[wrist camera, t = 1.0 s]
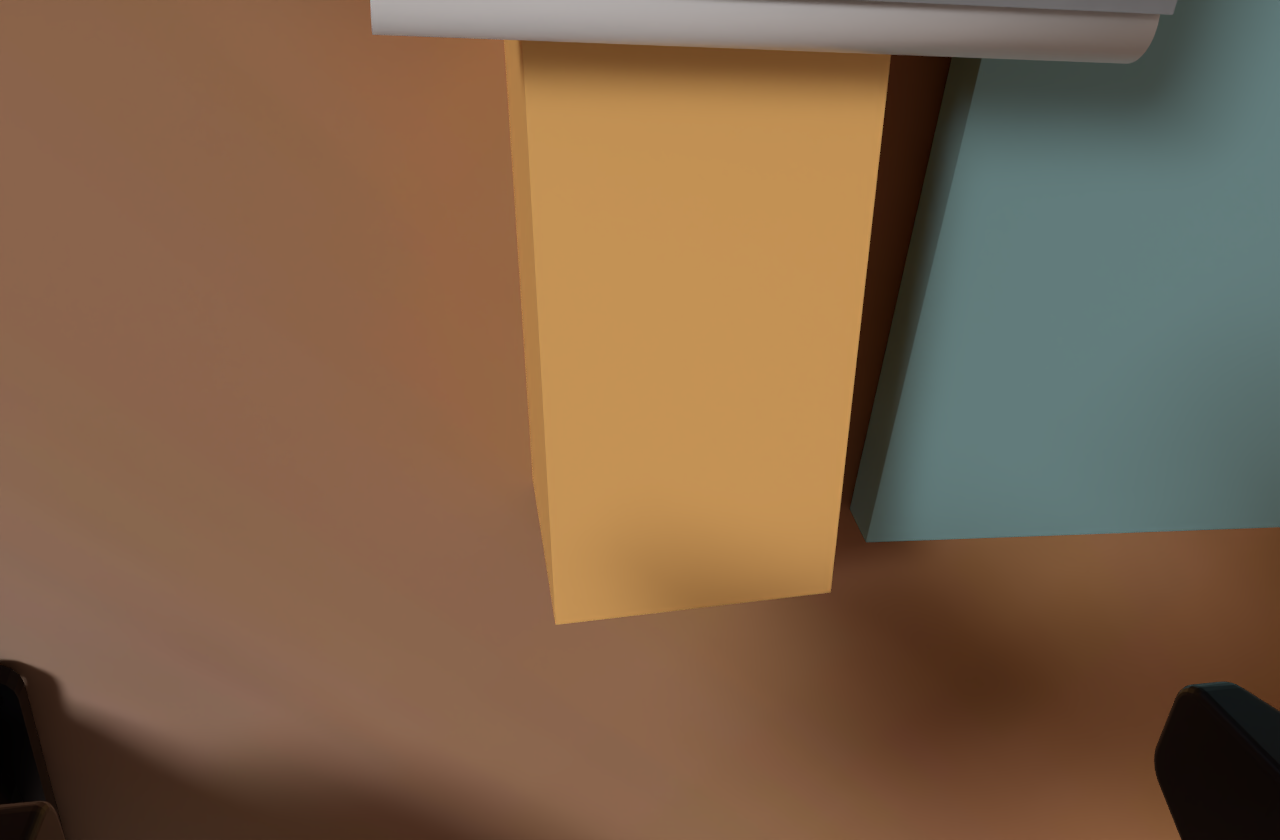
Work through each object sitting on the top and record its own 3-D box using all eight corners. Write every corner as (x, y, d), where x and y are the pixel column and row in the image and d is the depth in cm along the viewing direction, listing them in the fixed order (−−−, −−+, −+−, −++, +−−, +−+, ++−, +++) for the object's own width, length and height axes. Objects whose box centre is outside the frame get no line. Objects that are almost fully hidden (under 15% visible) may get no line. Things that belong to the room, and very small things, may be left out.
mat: (1268, 496, 25) (1297, 526, 24) (849, 509, 24) (865, 542, 23) (1706, -462, 16) (1775, -465, 16) (1088, -547, 15) (1128, -555, 14)
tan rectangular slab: (768, 448, 23) (830, 592, 20) (531, 472, 22) (555, 625, 19) (824, -389, 16) (939, -383, 12) (475, -387, 15) (497, -379, 12)
